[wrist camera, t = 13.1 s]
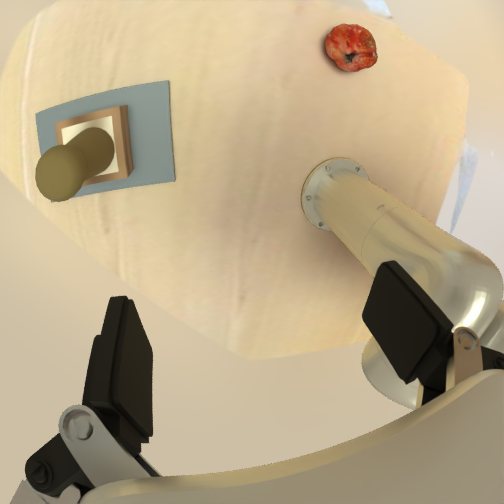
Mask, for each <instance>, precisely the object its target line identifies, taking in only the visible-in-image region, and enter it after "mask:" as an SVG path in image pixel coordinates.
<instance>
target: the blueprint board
mask: <svg viewBox="0 0 504 504" xmlns="http://www.w3.org/2000/svg"><path fill="white" fill-rule="evenodd" d="M124 105H127V107H128V121H129V132H130V142H131V151H132V159H133V166H134V170H133V171H132V173H131V174H130V175H129V177H128V178H123V179H118V180H112V181H106V182H101V183H96V184H91V185H86V186H82V187H81V189H80V190H79V191H78V192H77V193H76V194H75V195H74V196H73V197H71V198H74V197H79V196H84V195H89V194H94V193H100V192H105V191H111V190H117V189H123V188H130V187H136V186H143V185H150V184H158V183H166V182H174V181H175V171H174V161H173V149H172V135H171V119H170V99H169V81H160V82H153V83H147V84H141V85H135V86H130V87H125V88H120V89H115V90H111V91H106V92H102V93H98V94H94V95H91V96H87V97H83V98H80V99H76V100H73V101H70V102H67V103H64V104H61V105H58V106H55V107H52V108H49V109H46V110H44V111H41V112H39V113H36V124H37V132H38V140H39V146H40V153H41V157H42V155H43V154H44V153H45V152H46V151H47V150H49V149H50V148H51V147H54V146H57V145H58V144H57V137H56V129H55V123H57V122H60V121H63V120H67V119H70V118H73V117H77V116H80V115H84V114H88V113H92V112H96V111H100V110H104V109H108V108H113V107H118V106H124ZM51 202H56V201H52V200H51Z"/></svg>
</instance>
